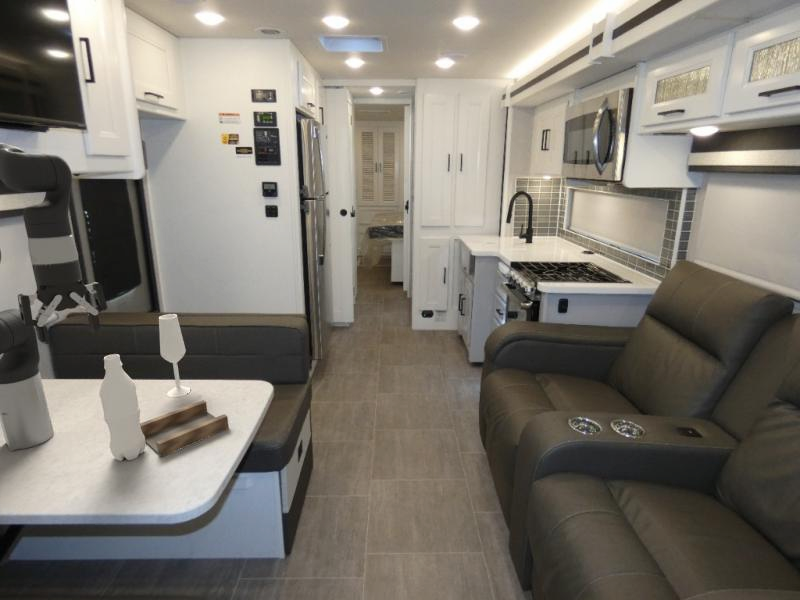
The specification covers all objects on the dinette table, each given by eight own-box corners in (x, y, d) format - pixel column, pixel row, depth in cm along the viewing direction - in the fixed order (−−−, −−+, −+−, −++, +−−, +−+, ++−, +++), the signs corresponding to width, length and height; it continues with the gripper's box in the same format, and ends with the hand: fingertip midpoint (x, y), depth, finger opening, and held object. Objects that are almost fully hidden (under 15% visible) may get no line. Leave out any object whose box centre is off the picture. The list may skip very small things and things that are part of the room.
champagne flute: (189, 385, 147) (179, 311, 140) (192, 393, 141) (181, 317, 134) (166, 390, 143) (154, 315, 137) (168, 399, 138) (155, 321, 131)
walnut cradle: (161, 457, 110) (159, 444, 109) (139, 436, 118) (137, 424, 117) (228, 428, 122) (227, 416, 121) (204, 411, 131) (203, 400, 130)
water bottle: (132, 465, 107) (112, 364, 100) (105, 462, 108) (84, 361, 101) (154, 447, 114) (137, 351, 107) (128, 444, 115) (110, 349, 108)
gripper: (88, 253, 100) (101, 325, 104) (4, 262, 89) (23, 343, 93) (102, 256, 95) (116, 331, 99) (15, 267, 84) (35, 351, 89)
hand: (71, 337), depth 96 cm, fingers open, 8 cm apart
